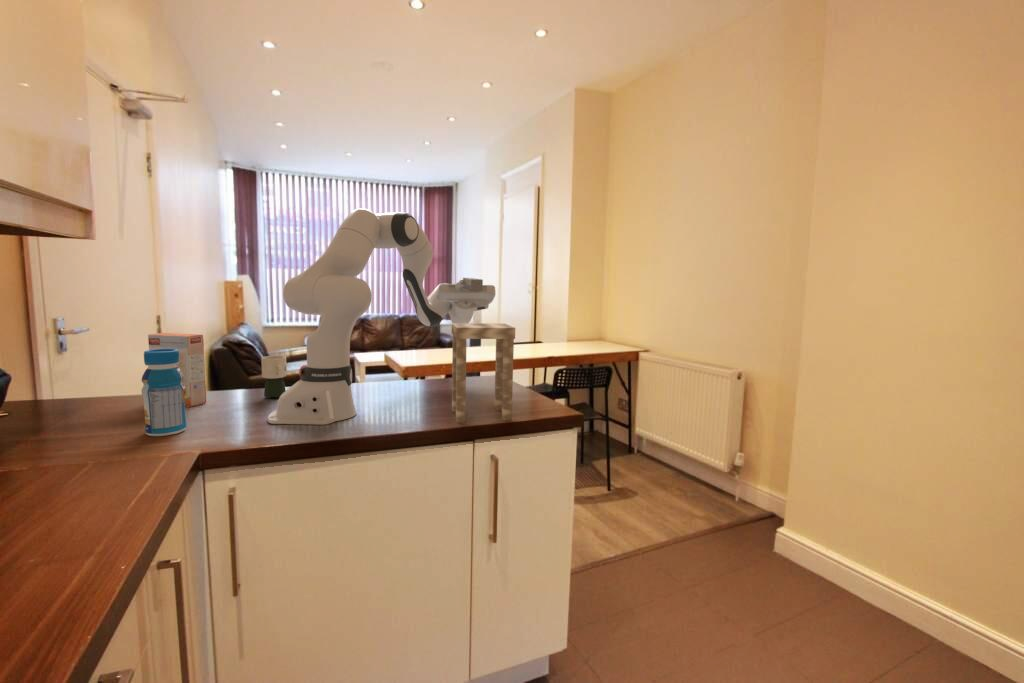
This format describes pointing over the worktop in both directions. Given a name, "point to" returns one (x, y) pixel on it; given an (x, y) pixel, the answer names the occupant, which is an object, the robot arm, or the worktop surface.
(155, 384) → the beverage bottle
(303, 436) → the worktop surface
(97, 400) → the worktop surface
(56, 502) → the worktop surface
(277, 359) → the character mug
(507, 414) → the stool
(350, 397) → the robot arm
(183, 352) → the cracker box
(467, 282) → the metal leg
